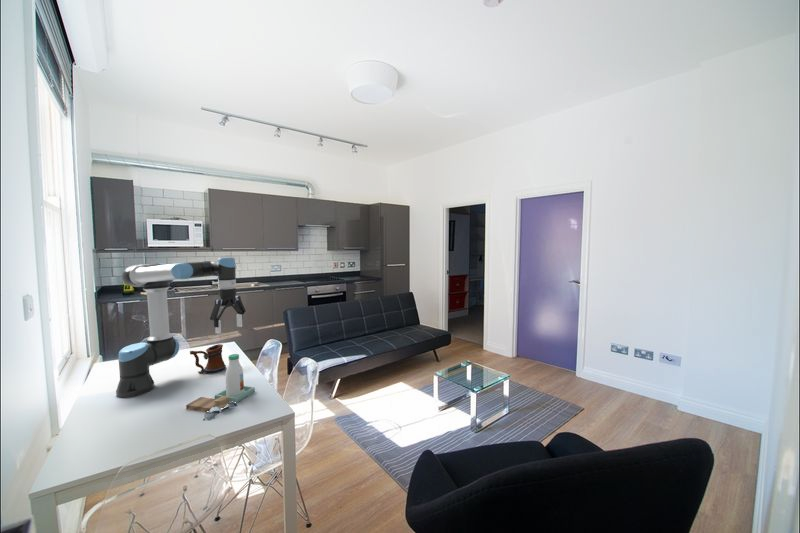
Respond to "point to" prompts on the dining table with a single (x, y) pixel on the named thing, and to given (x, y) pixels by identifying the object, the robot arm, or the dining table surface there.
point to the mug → (211, 359)
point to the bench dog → (222, 401)
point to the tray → (246, 393)
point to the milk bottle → (234, 377)
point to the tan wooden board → (201, 404)
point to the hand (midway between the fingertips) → (229, 330)
